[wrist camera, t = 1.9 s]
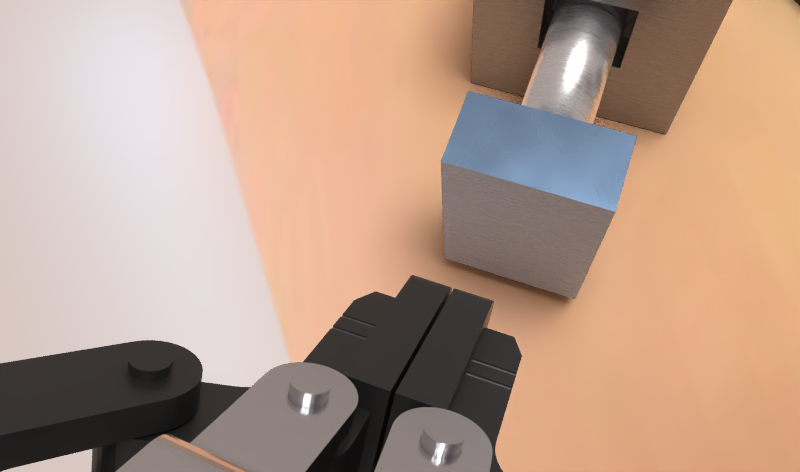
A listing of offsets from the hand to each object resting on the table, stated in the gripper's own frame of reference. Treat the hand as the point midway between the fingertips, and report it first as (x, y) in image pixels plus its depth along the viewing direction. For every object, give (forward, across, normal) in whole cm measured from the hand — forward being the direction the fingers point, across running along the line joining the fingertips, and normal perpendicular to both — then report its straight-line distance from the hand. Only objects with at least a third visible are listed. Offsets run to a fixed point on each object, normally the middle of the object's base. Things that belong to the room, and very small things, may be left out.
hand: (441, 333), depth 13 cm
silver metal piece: (+24, 0, +2) cm, 24 cm away
